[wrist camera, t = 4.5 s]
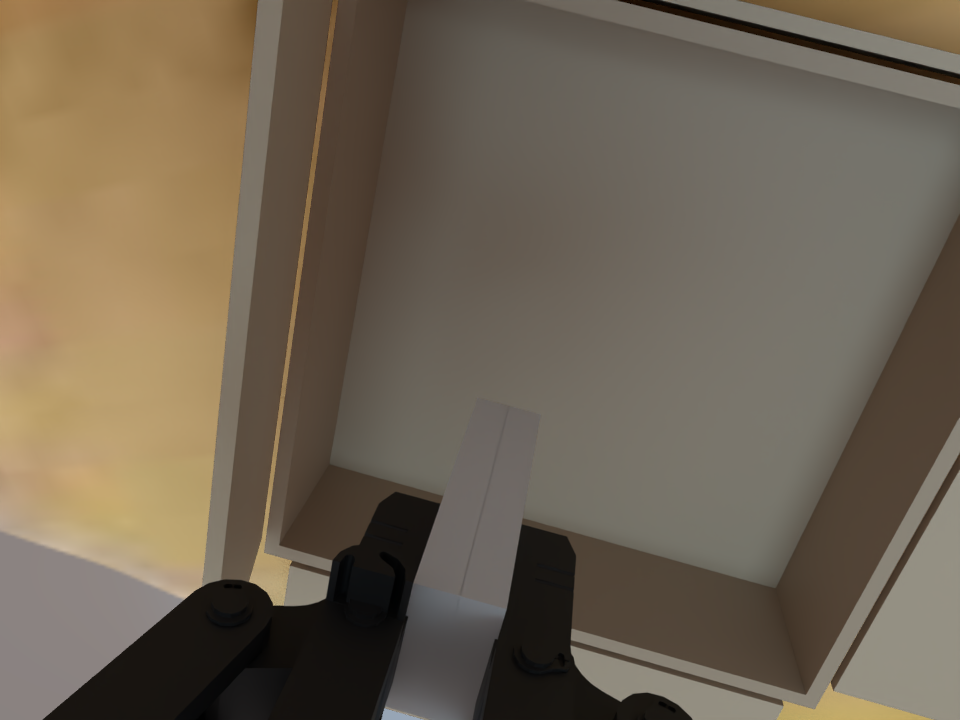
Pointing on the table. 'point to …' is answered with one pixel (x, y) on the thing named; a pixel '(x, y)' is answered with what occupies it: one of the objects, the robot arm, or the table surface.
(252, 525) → the flap
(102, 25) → the table surface
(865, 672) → the carton
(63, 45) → the table surface
